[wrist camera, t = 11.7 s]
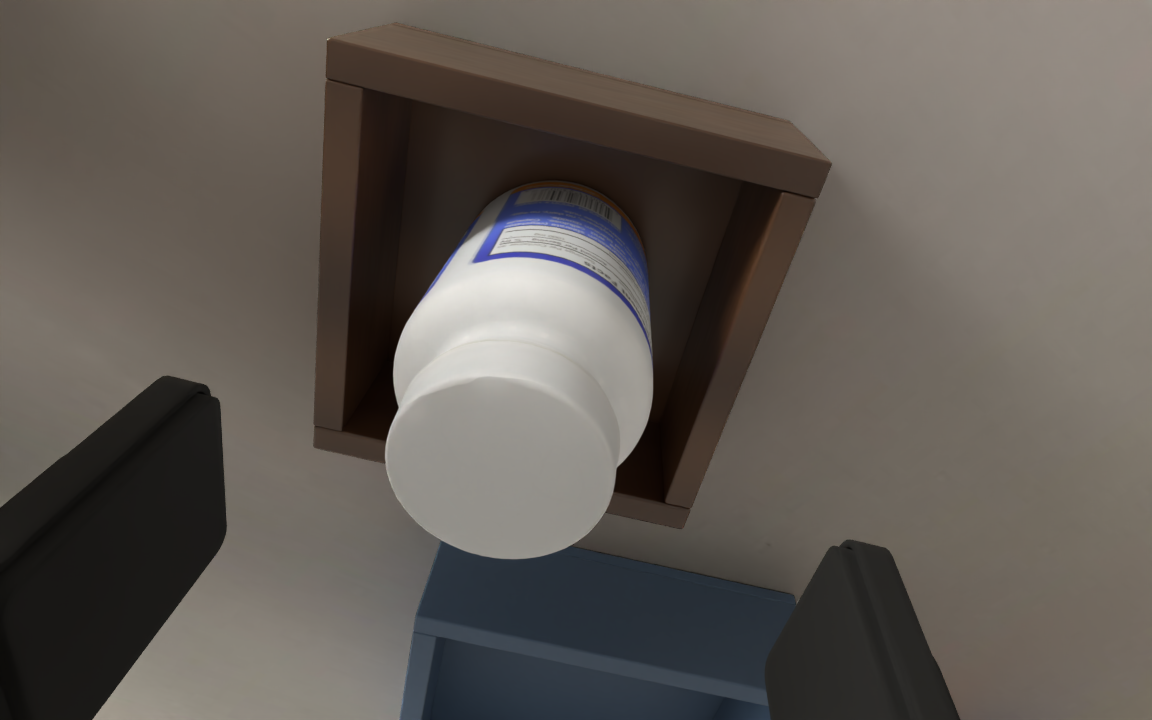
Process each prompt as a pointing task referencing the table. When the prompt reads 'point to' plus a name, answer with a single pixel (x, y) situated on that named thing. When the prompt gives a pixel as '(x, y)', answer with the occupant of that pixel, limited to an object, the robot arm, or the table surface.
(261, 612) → the table surface
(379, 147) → the walnut bin
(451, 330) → the pill bottle
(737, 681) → the slate bin
